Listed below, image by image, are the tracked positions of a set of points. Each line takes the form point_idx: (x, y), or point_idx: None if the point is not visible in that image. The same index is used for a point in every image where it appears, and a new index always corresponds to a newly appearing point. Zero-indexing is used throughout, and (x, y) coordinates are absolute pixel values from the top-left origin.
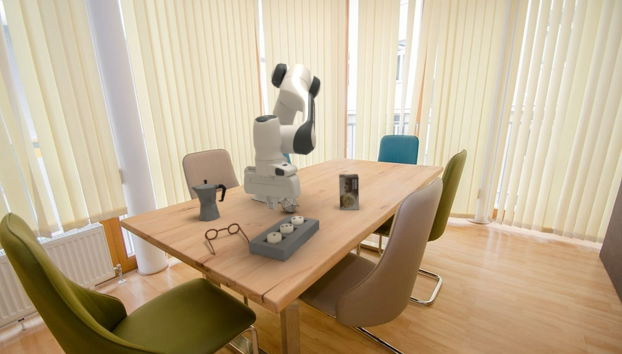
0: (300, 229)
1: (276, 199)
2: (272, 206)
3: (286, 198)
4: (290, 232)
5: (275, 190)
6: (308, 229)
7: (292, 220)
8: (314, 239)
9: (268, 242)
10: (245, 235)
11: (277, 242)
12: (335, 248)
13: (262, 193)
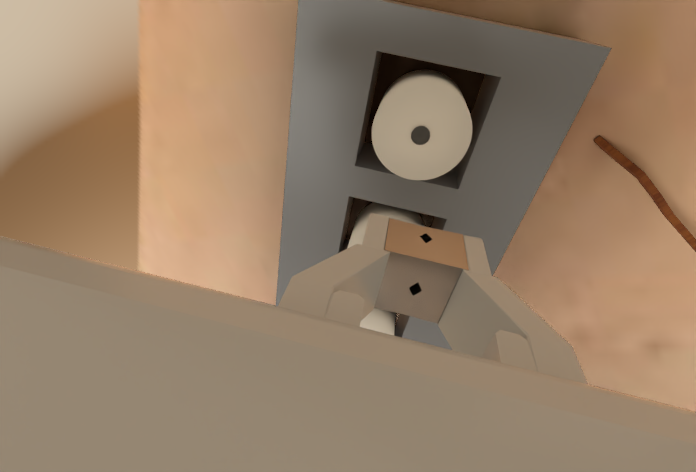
0: (315, 257)
1: (287, 287)
2: (396, 235)
3: (7, 239)
4: (356, 224)
5: (142, 451)
6: (280, 263)
7: (378, 325)
8: (270, 233)
9: (453, 85)
10: (656, 194)
11: (389, 91)
12: (153, 171)
13: (634, 430)
